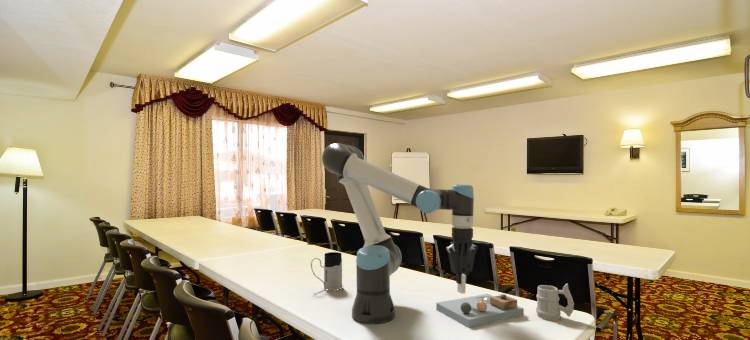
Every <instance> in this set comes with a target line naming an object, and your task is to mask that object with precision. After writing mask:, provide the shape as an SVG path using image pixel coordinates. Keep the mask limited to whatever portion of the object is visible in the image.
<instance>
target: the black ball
mask: <svg viewBox="0 0 750 340" xmlns="http://www.w3.org/2000/svg"><path fill="white" fill-rule="evenodd" d="M461 311H462V312H463V313H466V314H467V313H469V312H470V311H471V306H470V304H469V303H466V302H464V303H462V304H461Z"/></svg>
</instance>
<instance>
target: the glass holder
mask: <svg viewBox="0 0 750 340" xmlns="http://www.w3.org/2000/svg"><path fill="white" fill-rule="evenodd" d="M314 260H318V261H319V263H320V267H321V269H322V268H323V271H324V272H323V279H321V278H320V277H319V276H317V274H315V271H314V270H313V262H314ZM310 269H311V272H312V274H313V275H314V277H315V278H317V279H318V280H319V281H321V282H322V283H323V287H324V289H328V290H337V289H340V288H342V287H343V288H344V286H343V259H342V252H339V251H338V252H337V251H333V252H326V253H324V264H323V266H322V260H321V259H320V258H319V257H314V258H313V259H312V260H311V262H310ZM324 289H323V290H324ZM337 291H338V290H337Z"/></svg>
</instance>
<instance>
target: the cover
mask: <svg viewBox="0 0 750 340" xmlns="http://www.w3.org/2000/svg"><path fill="white" fill-rule="evenodd" d="M493 296H494V295H493ZM490 304H491V305H493V306H495V307H498V308H500V309H502V310H506V309H511V308H515V307H517V306H518V299H516V298H513V297H510V296H508V295H506V294H504V293H503V294H499V295H495V296H494V297H490Z"/></svg>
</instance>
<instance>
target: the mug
mask: <svg viewBox="0 0 750 340" xmlns="http://www.w3.org/2000/svg"><path fill="white" fill-rule="evenodd" d="M559 294H561V295H564V297H565V298H566V299H567V305H566V306H565V307H564V306H563V305H561V304H560V303H559V301H560V296H559ZM536 300H537V302H536V305H537V306H536V307H535V311H536V315H537V317H538V318H540V319H543V320H547V321H557V320H560V317H561V315H562V313H561V312H563V313H564V314H565V315H566V316H567V317H571V315H572V314H573V313H574V306H575V302H574V300H573V296H572V294H571V291H570V289H569V284H568V283H565V285H564V286H562V289H558V287H556V286H553V285H547V284H545V285H544V284H542V285H541V284H540V285H537V294H536Z"/></svg>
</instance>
